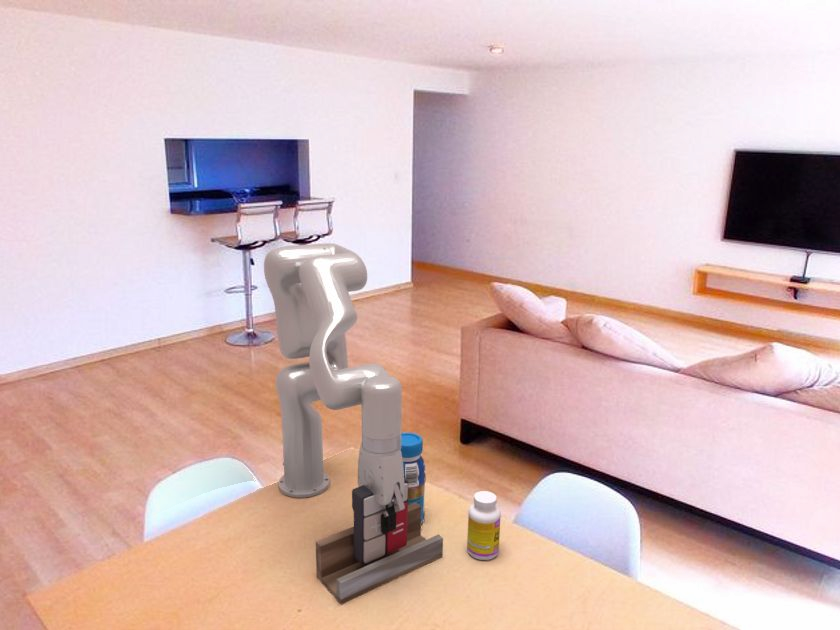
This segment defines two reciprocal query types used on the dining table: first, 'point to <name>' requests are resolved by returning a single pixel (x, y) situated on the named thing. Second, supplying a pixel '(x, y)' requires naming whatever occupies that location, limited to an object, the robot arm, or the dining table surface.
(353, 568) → the wooden channel stand
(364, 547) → the calculator
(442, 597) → the dining table surface
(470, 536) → the supplement bottle
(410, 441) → the beverage bottle
